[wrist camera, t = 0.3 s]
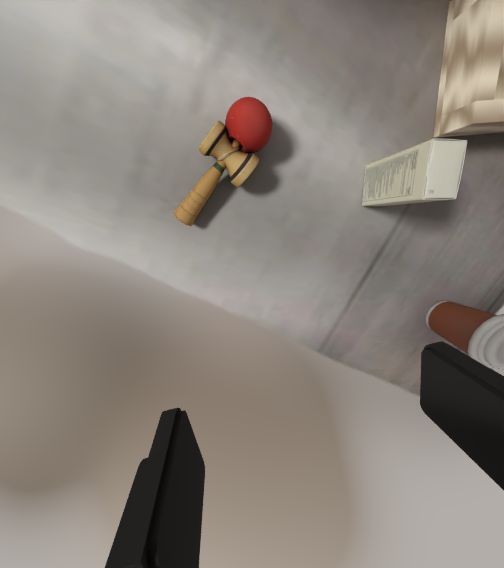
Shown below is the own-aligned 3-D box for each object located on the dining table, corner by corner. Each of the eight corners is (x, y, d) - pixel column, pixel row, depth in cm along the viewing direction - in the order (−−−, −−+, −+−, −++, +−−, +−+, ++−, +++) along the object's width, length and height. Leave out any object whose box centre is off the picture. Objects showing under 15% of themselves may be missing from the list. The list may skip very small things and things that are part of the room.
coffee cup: (437, 286, 44) (512, 311, 32) (471, 303, 46) (553, 333, 35) (410, 327, 46) (472, 365, 34) (443, 342, 48) (513, 382, 36)
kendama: (211, 236, 38) (286, 135, 33) (198, 240, 32) (288, 116, 27) (172, 203, 37) (243, 95, 32) (152, 201, 31) (235, 67, 26)
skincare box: (385, 206, 38) (456, 202, 27) (360, 206, 38) (421, 203, 26) (391, 162, 37) (471, 138, 25) (365, 162, 36) (434, 137, 24)
